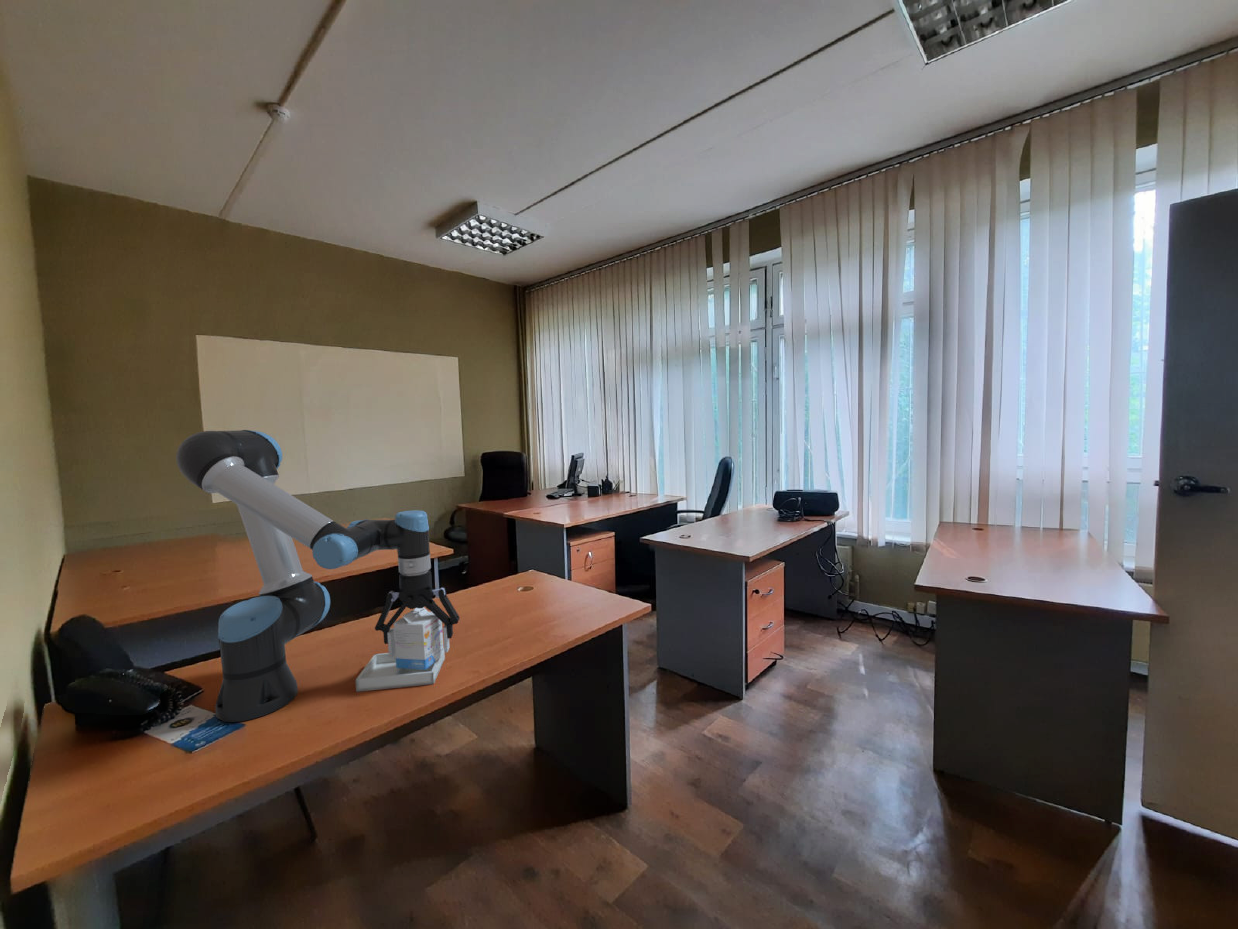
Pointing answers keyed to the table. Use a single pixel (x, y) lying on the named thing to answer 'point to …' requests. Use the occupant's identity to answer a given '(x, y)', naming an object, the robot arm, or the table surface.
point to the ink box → (418, 639)
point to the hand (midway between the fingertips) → (419, 652)
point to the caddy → (394, 674)
